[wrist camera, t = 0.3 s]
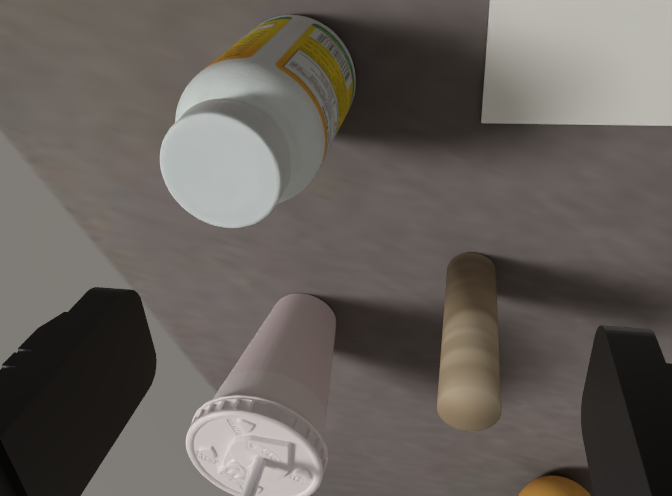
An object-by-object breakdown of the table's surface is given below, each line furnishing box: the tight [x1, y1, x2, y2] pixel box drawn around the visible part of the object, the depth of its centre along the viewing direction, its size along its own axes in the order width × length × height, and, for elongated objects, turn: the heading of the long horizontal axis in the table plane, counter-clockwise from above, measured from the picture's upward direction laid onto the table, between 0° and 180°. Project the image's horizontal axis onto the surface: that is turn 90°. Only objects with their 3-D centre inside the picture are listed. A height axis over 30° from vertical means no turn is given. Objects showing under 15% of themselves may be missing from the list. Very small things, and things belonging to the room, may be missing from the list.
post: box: [437, 252, 501, 431], centre depth 27 cm, size 2×2×9 cm
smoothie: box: [186, 293, 336, 496], centre depth 29 cm, size 6×6×14 cm
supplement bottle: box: [160, 15, 356, 228], centre depth 23 cm, size 5×5×10 cm
